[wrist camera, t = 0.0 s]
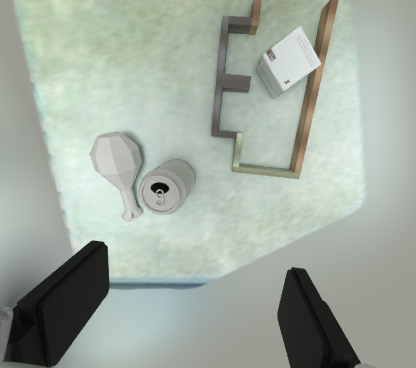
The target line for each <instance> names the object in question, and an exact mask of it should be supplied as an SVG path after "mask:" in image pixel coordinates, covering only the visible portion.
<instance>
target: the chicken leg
mask: <svg viewBox="0 0 416 368" xmlns="http://www.w3.org/2000/svg"><path fill="white" fill-rule="evenodd" d="M90 156H91V159H92V162H93V165H94V168H95V170H96V171H97V172H98V173H99V174H101V175H102V176H103V177H104V178H106V179H107V180H108V181H109V182H111V183H112V184H113V185H114V186H116V187H117V188H118V189H119V190H120V193H121V197H122V200H123V203H124V206H125V212H124V213H123V214H122V218H123V219H124V220H125V221H132V219H133V216H134V217H135V218H137V217H139V216H140V215H141V213H142V210H141V209H140V208H139V207H137V204H136V201H135V197H134V193H133V190H132V185H133V183H134V180H135V178H136V176H137V173H138V171H139V169H140V166H141V164H142V159H141V155H140V151H139V147H138V146H137V145H136V144H135V143H134V142H133V141H132V140H131V139H129V138H128V137H127V136H126V135H125V134H124V133H121V132H115V133H107V134H102V135H100V136H97V137H96V140H95V142H94V145H93V147H92V150H91V152H90Z"/></svg>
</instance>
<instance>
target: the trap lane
mask: <svg viewBox="0 0 416 368" xmlns="http://www.w3.org/2000/svg"><path fill="white" fill-rule="evenodd" d="M337 5H338V0H330V1H329V2H328V3H327V4H326V6H325V7H324V8H323V9H322V14H321V19H320V24H319V28H318V33H317V38H316V43H315V48H314V51H315V53H316V55H317V57H318V58H319V60H320V62H321V65H320V66H319V67H318V68H316V69H315V70H314V71H312V72H311V73H309V77H308V82H307V87H306V92H305V97H304V102H303V106H302V111H301V116H300V121H299V126H298V131H297V136H296V141H295V145H294V150H293V155H292V160H291V165H290V170H288V169H279V168H269V167H260V166H250V165H241V164H239V161H240V153H241V146H242V139H243V133H239V132H229V131H218V128H219V118H220V108H221V98H222V91H234V92H246V93H247V92H248V91H249V87H250V79H251V76H242V75H230V74H224V69H225V59H226V50H227V40H228V33H241V34H255V33H256V30H257V27H258V20H259V13H260V6H261V0H254V2H253V7H252V15H251V18H250V17H234V16H223V17H222V28H221V39H220V49H219V60H218V70H217V81H216V92H215V102H214V113H213V123H212V134H211V136H217V137H227V138H236V141H235V149H234V157H233V165H232V172H240V173H249V174H258V175H267V176H277V177H286V178H295V179H299V177H300V172H301V168H302V163H303V159H304V154H305V150H306V145H307V141H308V136H309V131H310V127H311V122H312V118H313V113H314V109H315V104H316V100H317V95H318V91H319V86H320V82H321V77H322V73H323V68H324V64H325V59H326V54H327V50H328V45H329V41H330V36H331V32H332V27H333V23H334V18H335V14H336V9H337Z"/></svg>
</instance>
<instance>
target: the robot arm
mask: <svg viewBox="0 0 416 368" xmlns="http://www.w3.org/2000/svg"><path fill="white" fill-rule="evenodd" d="M108 291H109V266H108V247H107V245H105V243H104V242H101V241H91V242H89V243H88V244H87V245H86V246H84V247H83V248H82V249H81V250H80V251H78V252H77V253H76V254H75V255H74V256H72V257H71V258H70V259H69V260H68V261H67V262H65V263H64V264H63V265H62V266H60V267H59V268H58V269H57V270H56V271H54V272H53V273H52V274H51V275H50V276H48V277H47V278H46V279H45V280H44V281H42V282H41V283H40V284H39V285H37V286H36V287H35V288H34V289H33V290H31V291H30V292H29V293H28V294H27V295H25V297H23V298H22V299H21V300H19V301H18V302H17V306H16V307H15V308H13V309H11V308H8V307H0V368H52V366H55V365H56V364H57V363H58V362H59V361H60V359H61V358H62V357H63V355H64V354H65V352H66V351H67V350H68V348H69V347H70V345H71V344H72V342H73V341H74V340H75V338H76V337H77V335H78V334H79V333H80V331H81V330H82V329H83V327H84V326H85V324H86V323H87V322H88V320H89V319H90V318H91V316H92V315H93V313H94V312H95V311H96V309H97V308H98V306H99V305H100V304H101V302H102V301H103V300H104V298H105V297H106V295H107V293H108ZM277 316H278V322H279V326H280V330H281V334H282V337H283V341H284V344H285V348H286V352H287V356H288V359H289V363H290V367H291V368H376V367H373V366H371V365H368V364H361V362H360V360H359V359H358V357H357V355H356V353H355V352H354V350H353V348H352V346H351V345H350V343H349V341H348V339H347V338H346V336H345V334H344V332H343V331H342V329H341V327H340V326H339V324H338V322H337V320H336V319H335V317H334V315H333V313H332V312H331V310H330V308H329V306H328V305H327V303H326V302H325V301H323V300H322V298H321V297H320V295H319V293H318V291H317V290H316V288H315V286H314V284H313V283H312V280H311V279H310V277H309V275H308V273H307V272H306V270H305V269H302V268H295V267H292V268H291V270H288V271H287V274H286V278H285V283H284V287H283V291H282V295H281V300H280V304H279V309H278V315H277Z"/></svg>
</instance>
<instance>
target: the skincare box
mask: <svg viewBox="0 0 416 368" xmlns="http://www.w3.org/2000/svg"><path fill="white" fill-rule="evenodd" d="M320 65H321V62H320V60H319V58H318V57H317V55H316V53H315V51H314V49H313V47H312V45H311V43H310V42H309V40H308V38H307V36H306V34H305V32H304V31H303V29H302V27H301V26H299V27H298V28H296V29H295V30H294V31H293V32H291V33H290V34H289V35H287V36H286V37H285V38H284V39H282V40H281V41H280V42H278V43H277V44H276V45H274V46H273V47H272V48H271V49H269V50H268V51H267V52H265V53H264V54H263V55H262V57H261V60H260V62H259V64H258V67H257V69H256V71H257V73H258V74H259V76H260V78H261V80H262V81H263V83H264V84H265V86H266V88H267V89H268V91H269V92H270V94H271V96H272V97H273V98H276V97H278V96H279V95H280V94H282V93H283V92H285V91H286V90H288V89H289V88H290V87H292V86H293V85H295V84H296V83H297V82H299V81H300V80H301V79H303V78H304V77H305V76H307V75H308V74H309V73H311V72H312V71H314V70H315V69H316V68H318V67H319V66H320Z"/></svg>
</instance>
